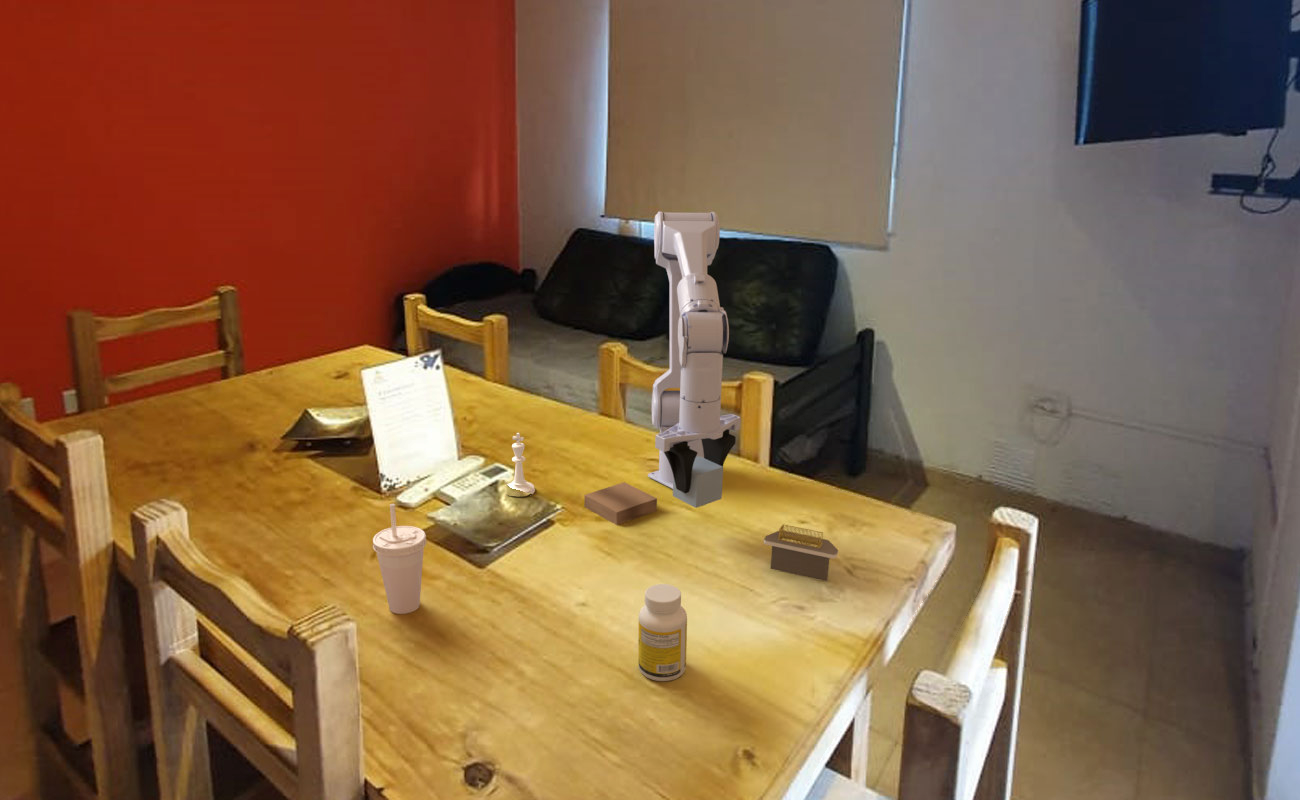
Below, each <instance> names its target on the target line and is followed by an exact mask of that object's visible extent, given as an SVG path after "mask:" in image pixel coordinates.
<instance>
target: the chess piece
mask: <svg viewBox="0 0 1300 800" xmlns="http://www.w3.org/2000/svg"><path fill="white" fill-rule="evenodd" d="M512 440H513V441H515V442H514V443H512V445H511V448H512V451H513V454H514V456H513V457H512V458H511V461H512V462H514V463H515V467H514V469H515V470H514V478H513V480H512V481H511V482H509V483H507V484H506V485H508V486H509V487H510V488H512V489H516V490H520V491H523V492H526V493H531V494H532V495H533V494H534V493H535V492H536V489H535V485H534V484H533V483H532V482H530V481H529V482H528V481H527V480H526V479H525V475H524V468H523V462H525V461H526V457H525V456H523V453H524V450H525V443H523V441H524V440H525V439H524V436H521V434H520V433H519V432H516V434H515V435H512ZM521 441H522V442H521Z"/></svg>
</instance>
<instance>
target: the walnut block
mask: <svg viewBox="0 0 1300 800" xmlns="http://www.w3.org/2000/svg"><path fill="white" fill-rule="evenodd" d="M583 499H584V508H585V509H587V510H589V511H591V512H593V513H595V514H597V516H600V517H602V518H603V519H605V520H607V521H609V522H611V523H612V524H614V525H615V526H618V525H621V524H623V523H627V522H630V521H631V520H634V519H638V518H640V517H643V516H645V515H649V514H651V513H654V512H657V510H658V508H657V505H658V498H657V497H655V496H653V495H651V494H649V493H647V492H645V491H643V490H641V489H639V488H637V487H635V486H633V485H631V484H629V483H626V482H625V481H624V482H620V483H618V484H614V485H612V486H609V487H604V488H602V489H598V490H596V491H592V492H589V493H587V494H584V498H583Z"/></svg>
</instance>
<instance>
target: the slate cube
mask: <svg viewBox="0 0 1300 800" xmlns="http://www.w3.org/2000/svg"><path fill="white" fill-rule="evenodd" d="M723 478H724V466H723V467H722V466H720V465H718V464H716V463H714V462H711V461H709V460H707V459H705V458H703V457H700V456H698V457H696V458H695V461H694V464H693V468H692V473H691V485H690V490H689V492H688V493H683V492H681V491H679V490H677V489H676V485H675V480H674V476H673V489H672V497H674V498H675V499H678V500H679V501H681V502H683V503H686V504H687V505H690V506H691V507H693V508H695V509H697V508H700V507H702V506H705V505H708V504H712V503H714V502H716V501H719V500H722V497H723V481H724V480H723Z"/></svg>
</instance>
